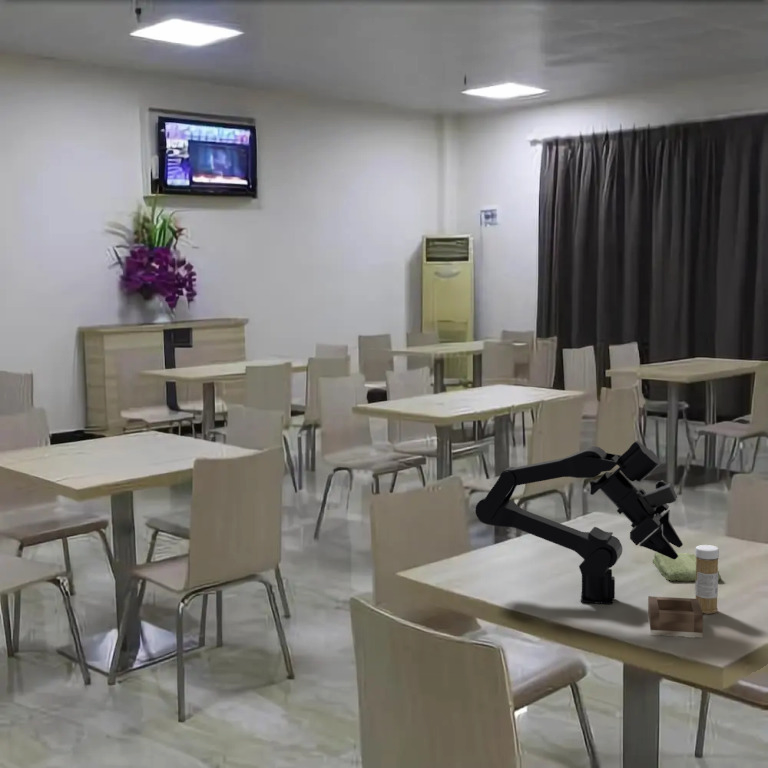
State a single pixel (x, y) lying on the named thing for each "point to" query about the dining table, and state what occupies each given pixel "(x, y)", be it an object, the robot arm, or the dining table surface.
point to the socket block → (675, 616)
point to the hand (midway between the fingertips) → (678, 551)
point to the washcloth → (677, 567)
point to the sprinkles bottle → (707, 577)
